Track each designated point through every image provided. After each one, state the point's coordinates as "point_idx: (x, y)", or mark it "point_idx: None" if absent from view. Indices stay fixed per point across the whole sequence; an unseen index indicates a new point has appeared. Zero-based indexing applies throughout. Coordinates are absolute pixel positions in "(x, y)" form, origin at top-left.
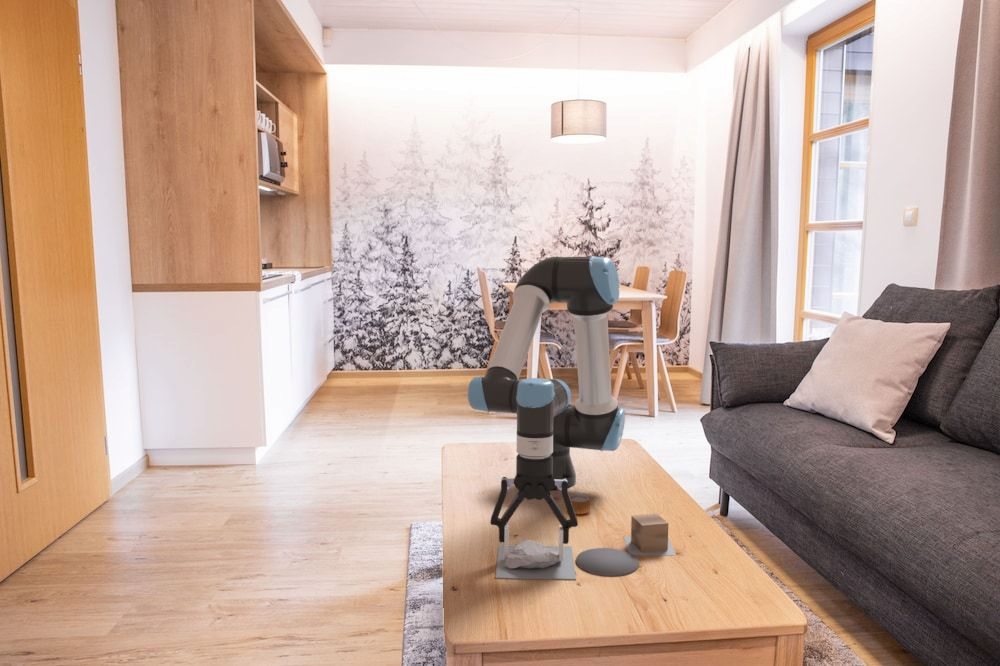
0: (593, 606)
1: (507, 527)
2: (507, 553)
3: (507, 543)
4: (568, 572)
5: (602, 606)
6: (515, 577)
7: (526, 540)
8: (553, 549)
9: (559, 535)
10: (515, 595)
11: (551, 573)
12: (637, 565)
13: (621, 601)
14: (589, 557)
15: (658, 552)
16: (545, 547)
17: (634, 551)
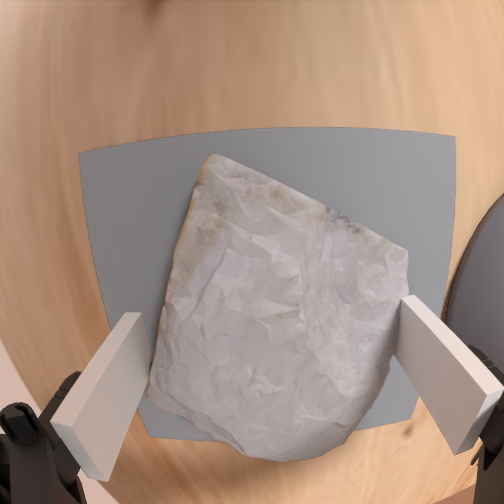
0: (402, 486)
1: (92, 465)
2: (145, 382)
3: (130, 416)
4: (401, 390)
5: (418, 481)
6: (213, 439)
7: (219, 199)
8: (376, 173)
9: (444, 419)
10: (230, 490)
11: None
12: None
13: (459, 456)
14: (498, 276)
15: None
16: (341, 216)
17: None
